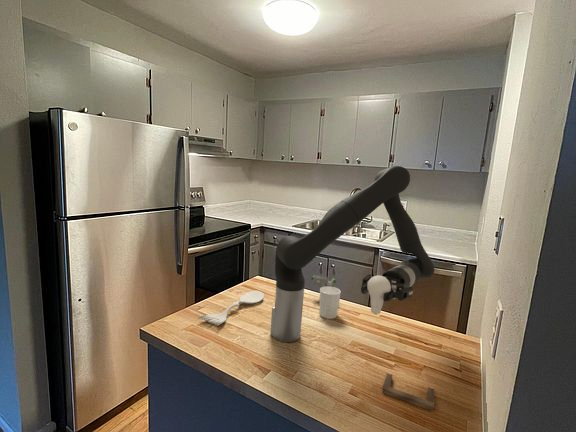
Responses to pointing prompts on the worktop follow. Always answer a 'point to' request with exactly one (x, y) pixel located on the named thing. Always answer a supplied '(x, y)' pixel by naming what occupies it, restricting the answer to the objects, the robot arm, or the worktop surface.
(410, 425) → the worktop surface
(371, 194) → the robot arm
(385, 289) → the lightbulb
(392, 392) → the walnut holder
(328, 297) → the white cup
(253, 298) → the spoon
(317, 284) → the mechanical component
